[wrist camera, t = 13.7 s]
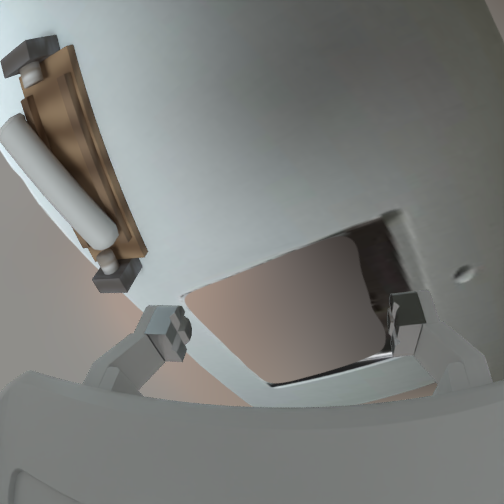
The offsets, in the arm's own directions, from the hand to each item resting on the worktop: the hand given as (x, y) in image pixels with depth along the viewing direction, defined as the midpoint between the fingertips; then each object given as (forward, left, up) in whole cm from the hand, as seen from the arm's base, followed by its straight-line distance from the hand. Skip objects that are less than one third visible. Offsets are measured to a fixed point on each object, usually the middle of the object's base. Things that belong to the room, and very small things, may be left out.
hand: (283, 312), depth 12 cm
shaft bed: (-1, -32, -29) cm, 43 cm away
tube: (0, -33, -26) cm, 42 cm away
